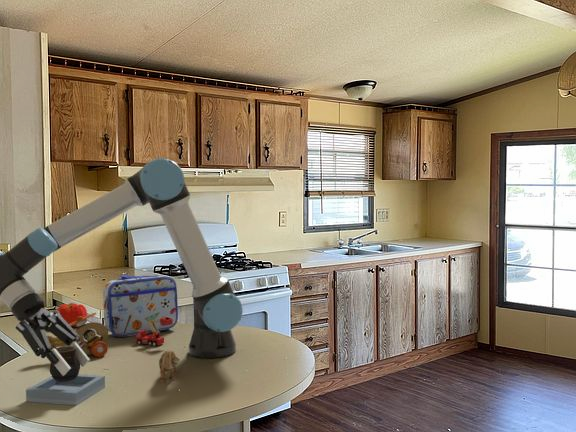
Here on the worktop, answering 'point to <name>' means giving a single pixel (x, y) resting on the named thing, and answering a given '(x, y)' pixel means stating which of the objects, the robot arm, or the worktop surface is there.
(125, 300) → the lunch box
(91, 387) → the tray
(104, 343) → the toy helicopter
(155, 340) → the toy fire truck
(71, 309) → the tomato
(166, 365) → the lion figurine
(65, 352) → the mate gourd
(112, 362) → the worktop surface
